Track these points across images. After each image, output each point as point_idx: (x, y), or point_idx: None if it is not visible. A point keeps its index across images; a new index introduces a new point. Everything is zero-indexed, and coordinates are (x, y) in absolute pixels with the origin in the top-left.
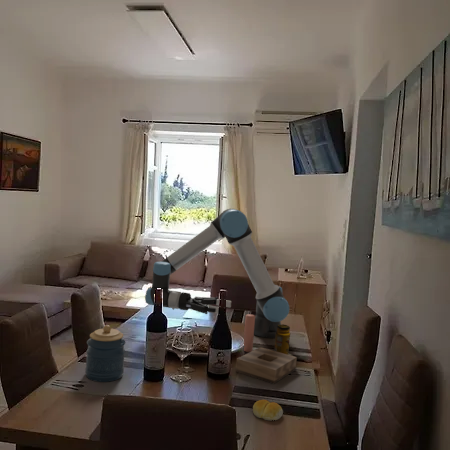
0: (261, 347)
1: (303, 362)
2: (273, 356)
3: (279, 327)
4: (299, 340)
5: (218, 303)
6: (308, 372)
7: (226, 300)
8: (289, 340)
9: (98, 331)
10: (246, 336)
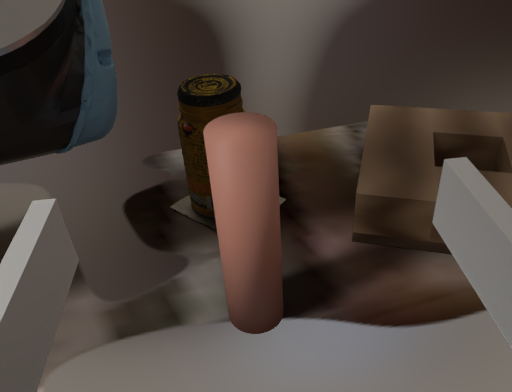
0: (357, 189)
1: (278, 144)
2: (432, 142)
3: (234, 92)
4: (11, 187)
5: (19, 380)
6: (360, 125)
7: (15, 244)
8: None
9: None
10: (280, 250)
